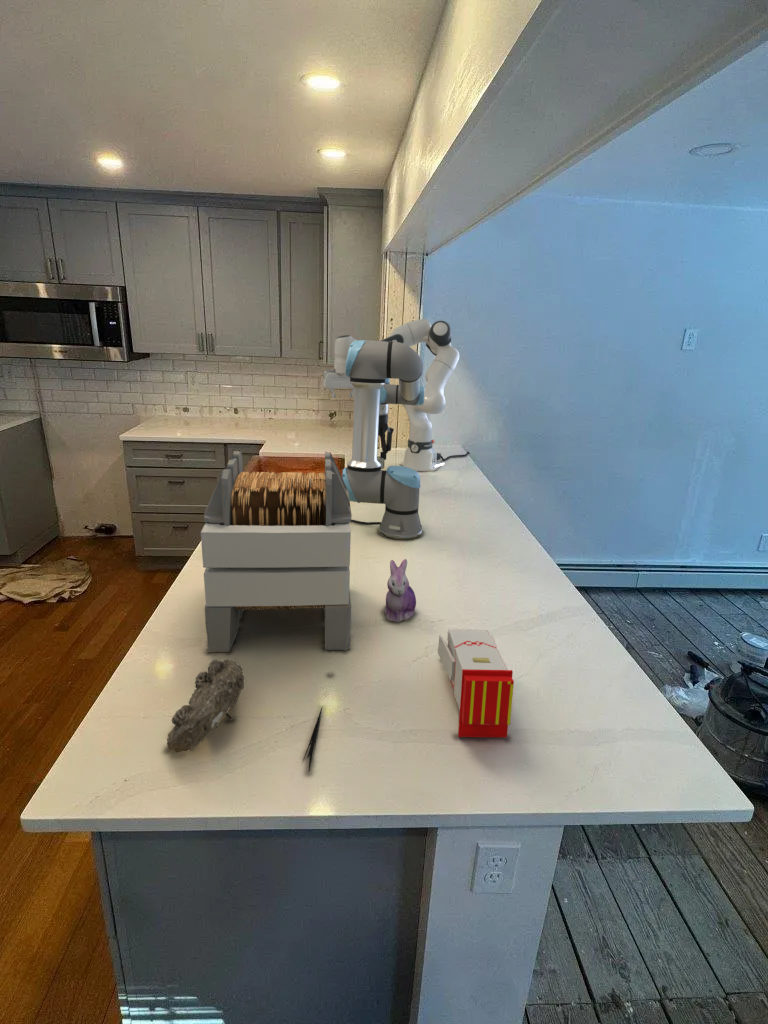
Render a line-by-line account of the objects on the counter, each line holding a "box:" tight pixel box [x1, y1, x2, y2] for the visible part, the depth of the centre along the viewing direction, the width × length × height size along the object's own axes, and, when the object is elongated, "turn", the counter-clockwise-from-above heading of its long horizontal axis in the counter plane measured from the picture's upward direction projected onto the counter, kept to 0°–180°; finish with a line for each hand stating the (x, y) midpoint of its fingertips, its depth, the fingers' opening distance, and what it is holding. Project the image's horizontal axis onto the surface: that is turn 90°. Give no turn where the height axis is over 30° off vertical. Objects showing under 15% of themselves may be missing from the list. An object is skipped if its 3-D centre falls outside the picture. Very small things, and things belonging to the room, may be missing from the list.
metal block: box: [377, 455, 385, 470], centre depth 244 cm, size 4×4×5 cm
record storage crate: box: [200, 450, 353, 653], centre depth 138 cm, size 34×33×41 cm
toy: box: [437, 628, 515, 738], centre depth 117 cm, size 12×13×30 cm
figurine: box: [384, 558, 417, 623], centre depth 145 cm, size 9×10×15 cm
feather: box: [301, 673, 332, 771], centre depth 108 cm, size 2×28×2 cm
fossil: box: [166, 658, 245, 754], centre depth 106 cm, size 22×10×15 cm
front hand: (377, 467), depth 245 cm, fingers closed on metal block, 4 cm apart
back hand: (342, 397), depth 287 cm, fingers open, 8 cm apart
